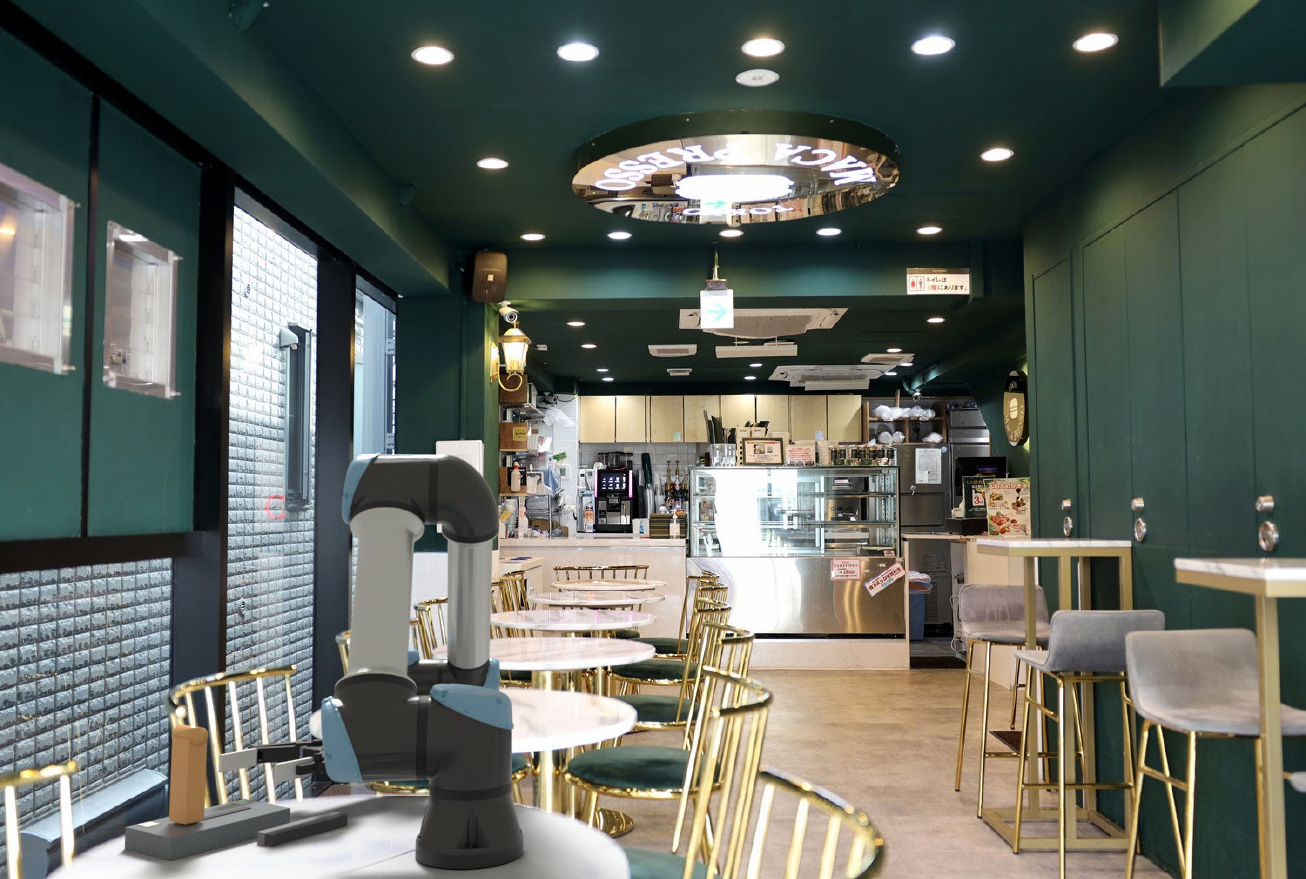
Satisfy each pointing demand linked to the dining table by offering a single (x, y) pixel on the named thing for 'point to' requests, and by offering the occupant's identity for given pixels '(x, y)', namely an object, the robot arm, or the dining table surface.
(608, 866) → the dining table surface
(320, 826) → the grooved grey bar
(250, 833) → the base
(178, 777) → the handle
